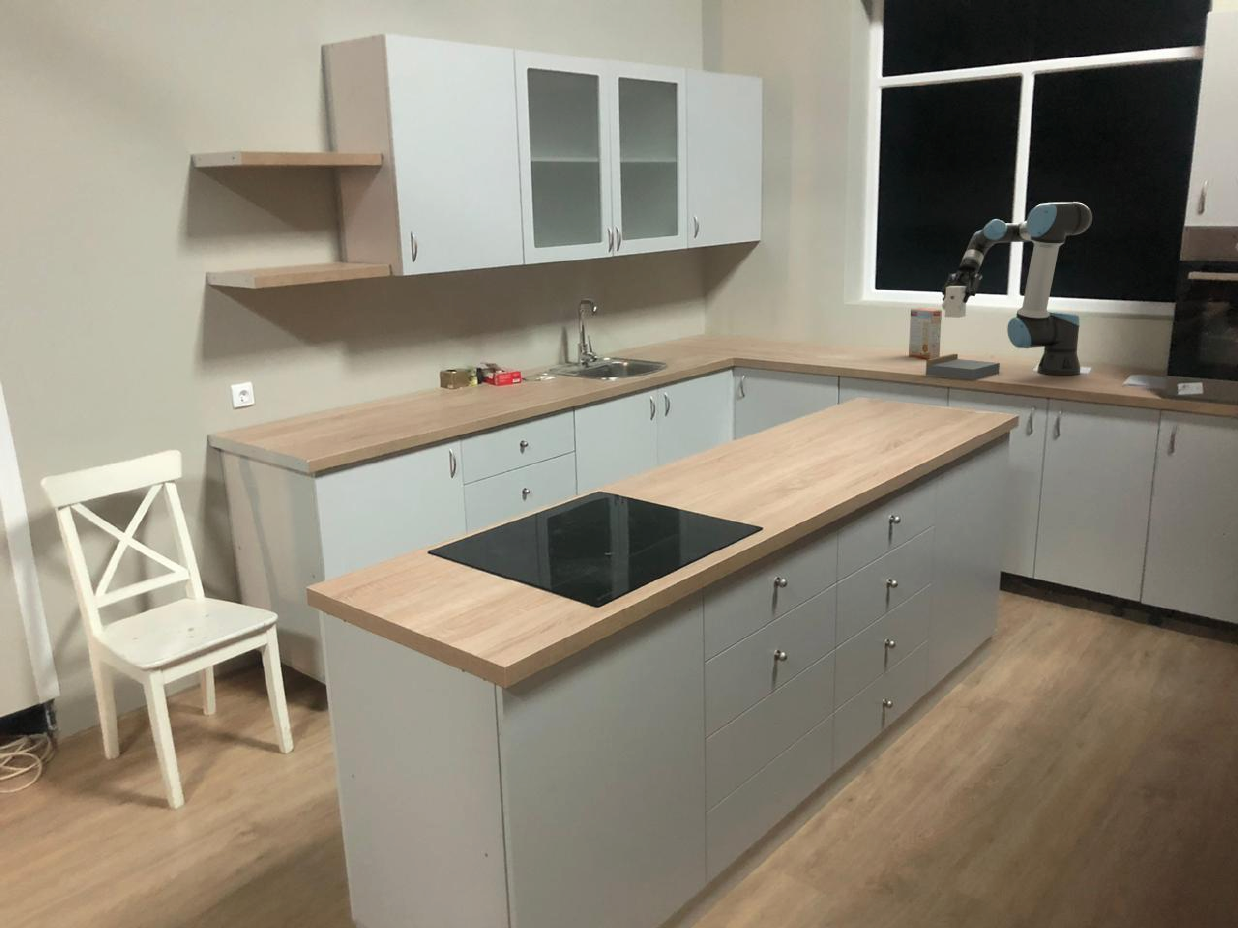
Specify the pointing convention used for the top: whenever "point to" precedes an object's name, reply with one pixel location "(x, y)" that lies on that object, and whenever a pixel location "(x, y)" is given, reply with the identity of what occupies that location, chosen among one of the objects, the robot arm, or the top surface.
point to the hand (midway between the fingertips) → (951, 307)
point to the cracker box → (925, 333)
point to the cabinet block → (954, 301)
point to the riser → (960, 367)
